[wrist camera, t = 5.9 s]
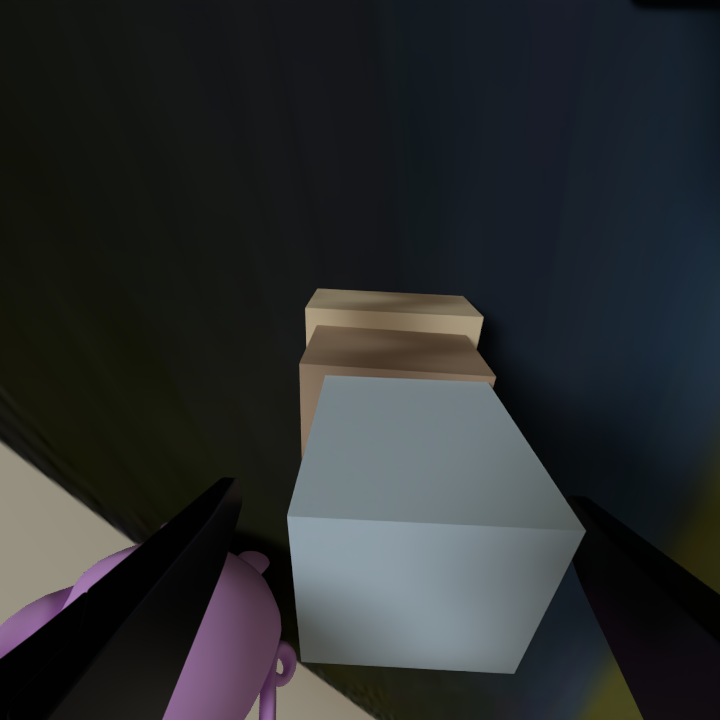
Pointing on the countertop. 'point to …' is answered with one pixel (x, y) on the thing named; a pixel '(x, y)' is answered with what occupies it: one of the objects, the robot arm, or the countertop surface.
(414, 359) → the walnut mid slab
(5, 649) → the teapot
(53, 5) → the countertop surface
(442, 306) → the oak base slab
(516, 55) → the countertop surface
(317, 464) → the pale blue cube
